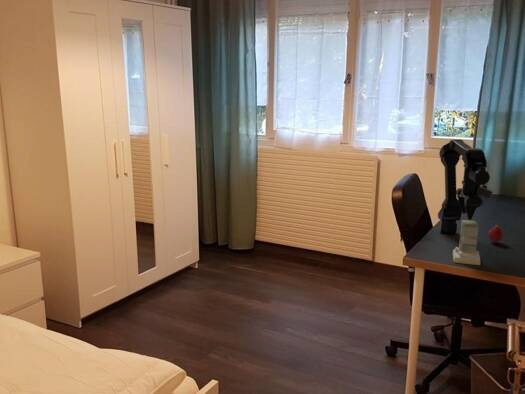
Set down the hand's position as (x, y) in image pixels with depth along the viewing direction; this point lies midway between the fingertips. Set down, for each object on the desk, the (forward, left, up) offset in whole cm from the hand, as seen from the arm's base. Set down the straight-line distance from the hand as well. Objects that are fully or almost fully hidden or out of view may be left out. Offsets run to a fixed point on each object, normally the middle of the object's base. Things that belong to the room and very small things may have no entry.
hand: (466, 216), depth 203 cm
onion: (+13, +9, -13) cm, 21 cm away
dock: (0, -16, -13) cm, 21 cm away
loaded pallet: (0, -16, -11) cm, 19 cm away
